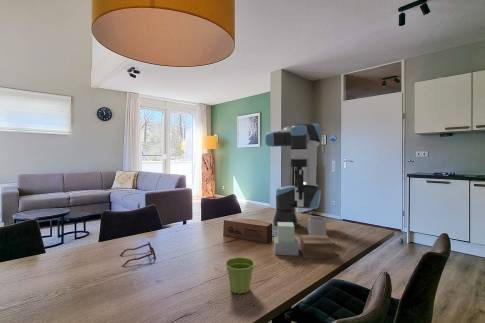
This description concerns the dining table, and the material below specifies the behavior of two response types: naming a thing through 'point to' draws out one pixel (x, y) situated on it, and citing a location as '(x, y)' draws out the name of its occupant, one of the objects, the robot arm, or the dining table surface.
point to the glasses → (142, 256)
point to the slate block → (286, 247)
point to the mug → (316, 225)
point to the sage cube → (285, 232)
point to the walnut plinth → (316, 246)
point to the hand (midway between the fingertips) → (298, 203)
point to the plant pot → (240, 274)
